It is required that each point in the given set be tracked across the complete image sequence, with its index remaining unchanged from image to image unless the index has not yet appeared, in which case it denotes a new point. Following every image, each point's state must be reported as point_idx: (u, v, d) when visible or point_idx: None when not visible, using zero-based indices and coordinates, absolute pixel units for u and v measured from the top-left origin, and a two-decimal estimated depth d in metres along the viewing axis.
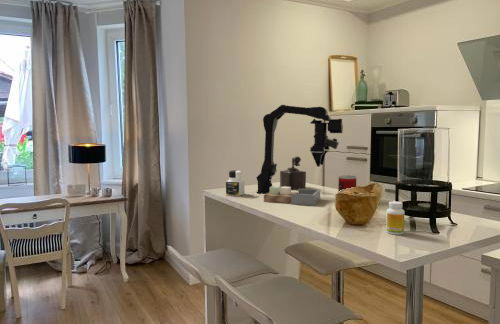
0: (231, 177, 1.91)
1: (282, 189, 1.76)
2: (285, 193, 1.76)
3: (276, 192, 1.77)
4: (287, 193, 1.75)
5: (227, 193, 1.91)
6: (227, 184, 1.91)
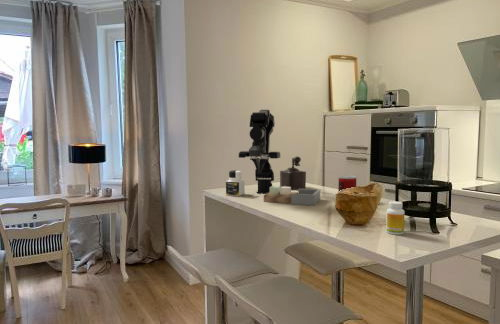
0: (231, 177, 1.91)
1: (282, 189, 1.76)
2: (285, 193, 1.76)
3: (276, 192, 1.77)
4: (287, 193, 1.75)
5: (227, 193, 1.91)
6: (227, 184, 1.91)
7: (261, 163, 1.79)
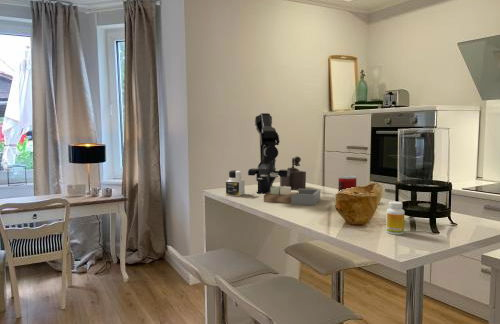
0: (231, 177, 1.91)
1: (282, 189, 1.76)
2: (285, 193, 1.76)
3: (277, 192, 1.77)
4: (287, 193, 1.75)
5: (227, 193, 1.91)
6: (227, 184, 1.91)
7: (270, 181, 1.78)
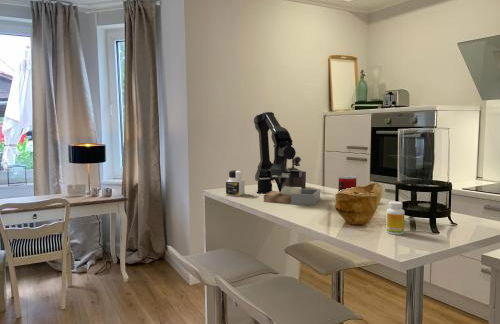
0: (231, 177, 1.91)
1: (293, 190, 1.74)
2: None
3: (289, 193, 1.75)
4: None
5: (227, 193, 1.91)
6: (227, 184, 1.91)
7: (282, 182, 1.76)
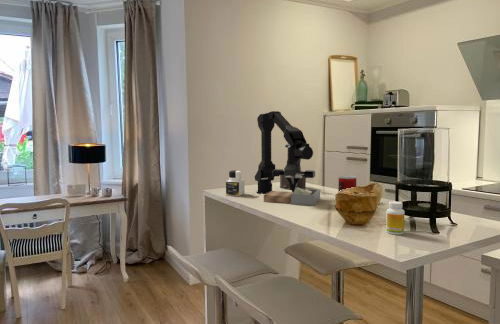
0: (231, 177, 1.91)
1: None
2: None
3: None
4: None
5: (227, 193, 1.91)
6: (227, 184, 1.91)
7: (295, 182, 1.74)
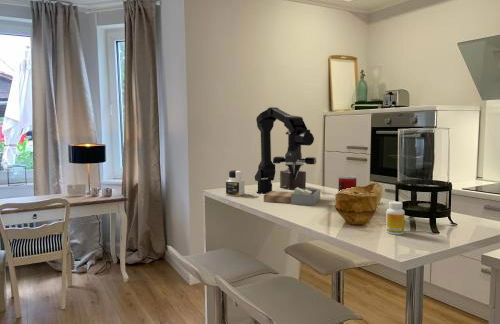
0: (231, 177, 1.91)
1: None
2: None
3: None
4: None
5: (227, 193, 1.91)
6: (227, 184, 1.91)
7: (296, 169, 1.73)
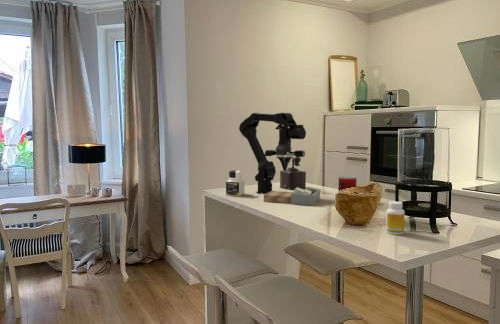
0: (231, 177, 1.91)
1: None
2: None
3: None
4: None
5: (227, 193, 1.91)
6: (227, 184, 1.91)
7: (286, 161, 1.87)
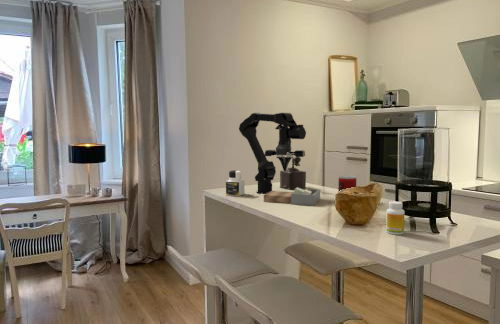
0: (231, 177, 1.91)
1: None
2: None
3: None
4: None
5: (227, 193, 1.91)
6: (227, 184, 1.91)
7: (286, 161, 1.87)
